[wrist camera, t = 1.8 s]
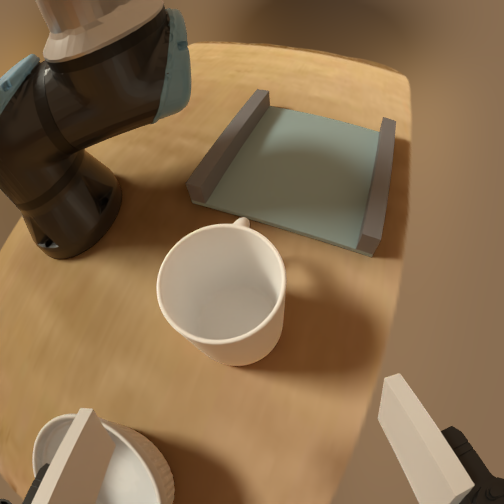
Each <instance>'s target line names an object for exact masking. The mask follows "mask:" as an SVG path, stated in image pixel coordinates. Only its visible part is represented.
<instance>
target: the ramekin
mask: <svg viewBox="0 0 504 504" xmlns="http://www.w3.org/2000/svg"><path fill="white" fill-rule="evenodd" d="M76 415H77V414H65V415H61V416H58V417H55V418H54V419H52V420H50V421H49V422H48V423H47V424H45V425H44V427H43V428H42V429H41V430H40V432H39V434H38V436H37V438H36V441H35V444H34V449H33V470H34V476H35V477H36V475H37V473H38V471H39V469H40V468H41V467H42V466H44V465H45V464H46V463H48V464H51V462H52V460H53V458H54V456H55V454H56V452H57V450H58V448H59V446H60V444H61V443H62V441H63V439H64V437H65V435H66V433H67V431H68V430H69V428H70V426H71V424H72V422H73V421H74V419H75V417H76ZM98 418H99V417H98ZM99 420H100V421H101V423H102V425H103V426H104V428H105V429H106V431H107V433H108V434H109V436H110V437H111V439H112V440H113V442H114V443H115V445H116V446H115V449H114V452H113V454H112V457H111V460H110V463H109V465H108V468H107V471H106V474H105V477H104V479H103V482H102V485H101V488H100V491H99V494H98V497H97V500H96V503H95V504H173V500H174V492H175V488H174V480H173V475H172V473H171V470H170V467H169V465H168V463H167V461H166V460H165V458H164V457H163V455H162V453H161V452H160V451H159V450H158V448H157V447H156V446H155V445H154V444H153V443H152V442H151V441H149V440H148V439H147V438H146V437H145V436H143V435H141V434H140V433H139V432H136V431H135V430H133V429H131V428H128V427H127V426H124V425H120V424H117V423H114V422H109V421H107V420H104V419H102V418H99Z"/></svg>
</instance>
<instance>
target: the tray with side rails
mask: <svg viewBox="0 0 504 504" xmlns="http://www.w3.org/2000/svg"><path fill="white" fill-rule="evenodd" d="M395 128H396V121H394V120H391V119H388V118H385V117H383V120H382V124H381V128H380V132H377V131H374V130H370V129H367V128H364V127H360V126H357V125H353V124H349V123H346V122H342V121H338V120H334V119H330V118H326V117H322V116H317V115H313V114H308V113H304V112H299V111H294V110H289V109H284V108H278V107H272V106H270V99H269V91H266V90H259V89H257V90H256V91H255V93H254V94H253V95H252V96H251V97H250V99H249V100H248V101H247V102H246V103H245V105H244V106H243V107H242V108H241V110H240V111H239V112H238V113H237V115H236V116H235V117H234V118H233V120H232V121H231V122H230V124H229V125H228V126H227V127H226V129H225V130H224V131H223V133H222V134H221V135H220V137H219V138H218V139H217V141H216V142H215V143H214V145H213V146H212V147H211V149H210V150H209V151H208V153H207V154H206V155H205V157H204V158H203V159H202V161H201V162H200V164H199V165H198V166H197V168H196V169H195V171H194V172H193V173H192V175H191V176H190V178H189V179H188V181H187V182H186V183H185V184H186V186H187V189H188V192H189V195H190V197H191V200H192V203H195V204H198V205H202V206H205V207H209V208H212V209H216V210H219V211H223V212H226V213H230V214H233V215H237V216H240V217H246V218H247V219H250V220H254V221H257V222H261V223H264V224H267V225H271V226H274V227H277V228H281V229H284V230H287V231H290V232H294V233H297V234H300V235H303V236H307V237H310V238H313V239H316V240H319V241H323V242H326V243H329V244H332V245H335V246H338V247H341V248H344V249H348V250H351V251H354V252H357V253H360V254H363V255H366V256H369V257H372V256H373V254H374V252H375V250H376V248H377V246H378V244H379V243H380V241H381V237H382V231H383V225H384V220H385V214H386V207H387V201H388V194H389V187H390V179H391V171H392V162H393V152H394V141H395Z"/></svg>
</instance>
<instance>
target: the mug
mask: <svg viewBox="0 0 504 504" xmlns="http://www.w3.org/2000/svg"><path fill="white" fill-rule="evenodd" d="M286 283H287V278H286V270H285V265H284V262H283V260H282V257H281V255H280V253H279V252H278V250H277V249H276V247H275V246H274V245H273V244H272V243H271V242H270V241H269V240H268V239H267V238H266V237H265V236H263V235H262V234H260V233H259V232H257V231H255V230H253V229H251V228H250V222H249V220H248V219H247V218H246V217H242V218H239V219H238V220H236V221H235V222H234V223H233V224H215V225H210V226H206V227H203V228H200V229H198V230H195V231H193V232H192V233H190V234H188V235H187V236H185V237H184V238H182V239H181V240H180V241H179V242H177V243H176V244H175V245H174V246H173V248H172V249H171V250H170V251H169V253H168V254H167V255H166V257H165V259H164V261H163V263H162V265H161V267H160V270H159V274H158V279H157V297H158V302H159V305H160V308H161V311H162V313H163V315H164V316H165V318H166V319H167V321H168V322H169V323H170V324H171V326H172V327H173V328H174V329H175V330H177V331H178V332H179V333H180V334H181V335H183V336H184V337H185V338H186V339H187V340H189V341H190V342H191V343H192V344H193V345H195V346H196V347H197V348H198V349H199V350H201V351H202V352H203V353H204V354H206V355H207V356H208V357H210V358H211V359H213V360H215V361H217V362H219V363H222V364H225V365H230V366H243V365H248V364H252V363H254V362H257V361H259V360H260V359H262V358H264V357H265V356H266V355H268V354H269V353H270V352H271V351H272V350H273V348H274V347H275V346H276V344H277V342H278V340H279V338H280V335H281V332H282V328H283V320H284V308H285V296H286Z"/></svg>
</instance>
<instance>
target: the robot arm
mask: <svg viewBox="0 0 504 504" xmlns="http://www.w3.org/2000/svg"><path fill="white" fill-rule="evenodd" d="M35 1H36V3H37V5H38V7H39V9H40V11H41V13H42V16H43V18H44V20H45V22H46V24H47V26H48V28H49V30H50V35H49V37H48V40H47V43H46V45H45V47H44V50H43V55H44V58H45V61H43V62H42V63H40V62H39V61H40V59H39V57H37V56H36V55H34V54H31V55H29V56H28V57H26V58H24V59H22V60H21V61H20V62H19V63H17V64H16V65H15V66H14V67H12V68H11V69H10V70H9V71H8V72H7V73H6V74H4V75H3V76H2V77H1V78H0V189H1V190H2V191H3V192H4V194H5V195H6V196H7V197H8V198H9V199H10V200H11V201H12V202H13V203H14V204H15V205H16V207H17V208H18V209H19V210H20V211H21V213H22V216H23V218H24V221H25V223H26V225H27V227H28V230H29V232H30V234H31V236H32V238H33V240H34V242H35V243H36V245H37V246H38V247H39V248H40V249H41V250H42V251H43V252H44V253H46V254H47V255H48V256H50V257H52V258H56V259H65V258H70V257H73V256H76V255H78V254H80V253H82V252H84V251H85V250H87V249H88V248H90V247H91V246H92V245H94V244H95V243H96V242H97V241H98V240H99V239H100V238H101V237H102V236H103V235H104V234H105V233H106V231H107V230H108V229H109V228H110V226H111V225H112V223H113V221H114V220H115V218H116V216H117V214H118V211H119V208H120V205H121V200H122V191H121V187H120V184H119V182H118V181H117V179H116V177H115V176H114V174H113V172H112V171H111V170H110V169H109V168H108V167H106V166H105V165H104V164H102V163H101V162H100V161H98V160H97V159H96V158H94V157H93V156H92V155H90V154H89V153H88V152H87V151H85V148H87V147H89V146H92V145H94V144H97V143H99V142H101V141H104V140H106V139H109V138H112V137H114V136H117V135H119V134H122V133H125V132H127V131H130V130H133V129H136V128H139V127H142V126H145V125H147V124H154V123H156V122H157V121H158V120H159V119H162V118H165V117H167V116H170V115H173V114H175V113H178V112H180V111H181V110H183V108H185V107H186V105H187V104H188V102H189V99H190V95H191V66H190V55H189V50H188V47H187V45H188V43H187V32H186V27H185V23H184V19H183V16H182V14H181V12H180V11H179V10H177V9H170V8H169V9H165V7H164V3H163V0H35ZM378 420H379V422H380V424H381V426H382V428H383V430H384V432H385V434H386V436H387V438H388V440H389V442H390V444H391V446H392V448H393V450H394V452H395V454H396V456H397V458H398V460H399V462H400V464H401V467H402V468H403V471H404V472H405V475H406V477H407V479H408V481H409V483H410V485H411V487H412V490H413V492H414V494H415V496H416V498H417V500H418V502H419V504H504V479H502V478H496V477H494V476H493V475H492V474H491V473H490V472H489V470H488V469H487V468H486V466H485V464H484V463H483V462H482V460H481V459H480V457H479V456H478V454H477V453H476V451H475V450H473V447H472V446H471V445H470V443H468V440H467V439H466V437H465V436H464V434H463V433H462V432H461V431H459V430H458V429H456V428H454V427H453V426H451V427H449V428H447V429H445V430H443V431H440V430H439V429H438V427H437V426H436V424H435V423H434V421H433V420H432V418H431V417H430V416H429V414H428V413H427V411H426V410H425V408H424V407H423V405H422V404H421V402H420V401H419V400H418V398H417V397H416V395H415V394H414V392H413V391H412V390H411V388H410V387H409V385H408V384H407V383H406V381H405V380H404V378H403V377H402V376H401V374H400V373H398V374H395V375H392V376H389V377H385V378H384V384H383V390H382V397H381V403H380V409H379V415H378ZM115 446H116V445H115V443H114V442H113V440H112V439H111V437H110V436H109V434H108V433H107V431H106V429H105V428H104V426H103V425H102V423H101V421H100V420H99V418H98V416H97V415H96V413H95V411H94V410H93V409H88V408H80V410H79V412H78V413H77V415H76V417H75V419H74V421H73V422H72V424H71V426H70V428H69V430H68V431H67V433H66V435H65V437H64V439H63V441H62V443H61V444H60V446H59V448H58V450H57V452H56V454H55V456H54V458H53V460H52V462H51V464H48V463H46V464H45V465H44V466H42V467H41V468H40V469H39V471H38V473H37V475H36V477H35V480H34V481H33V483H32V486H31V487H30V489H29V491H28V493H27V495H26V497H25V499H24V501H23V504H95V503H96V500H97V497H98V494H99V491H100V488H101V485H102V482H103V479H104V477H105V474H106V471H107V468H108V465H109V463H110V460H111V457H112V454H113V452H114V449H115ZM0 504H12V503H11V502H9V501H8V500H5V499H0Z"/></svg>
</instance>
